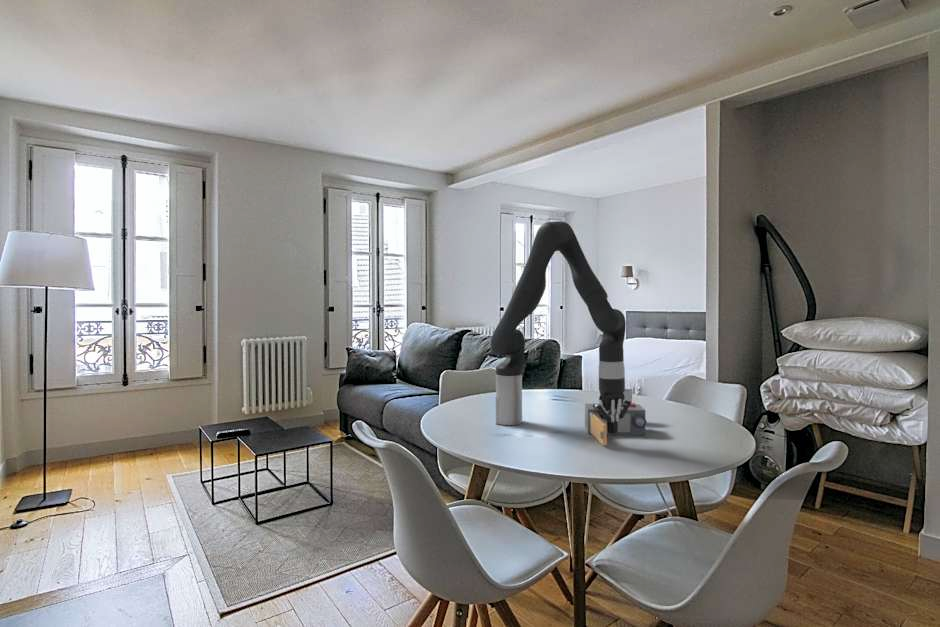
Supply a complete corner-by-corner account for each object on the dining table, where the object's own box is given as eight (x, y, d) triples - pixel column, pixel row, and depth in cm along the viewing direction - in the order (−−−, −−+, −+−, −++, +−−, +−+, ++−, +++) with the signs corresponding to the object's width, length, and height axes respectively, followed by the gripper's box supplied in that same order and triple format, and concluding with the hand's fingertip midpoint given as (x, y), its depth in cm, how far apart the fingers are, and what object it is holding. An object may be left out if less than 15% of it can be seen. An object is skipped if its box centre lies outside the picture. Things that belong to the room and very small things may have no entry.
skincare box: (616, 423, 180) (616, 388, 179) (610, 420, 184) (611, 386, 184) (632, 422, 180) (632, 388, 180) (627, 419, 185) (627, 386, 184)
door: (587, 433, 165) (587, 412, 165) (593, 432, 165) (593, 412, 165) (601, 446, 150) (601, 423, 150) (607, 446, 150) (607, 423, 150)
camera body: (588, 435, 164) (589, 408, 164) (584, 426, 175) (584, 401, 174) (646, 436, 162) (646, 409, 162) (638, 427, 173) (639, 402, 173)
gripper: (601, 379, 146) (602, 439, 147) (637, 375, 152) (638, 433, 152) (585, 376, 153) (586, 433, 153) (620, 372, 158) (621, 427, 159)
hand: (612, 433), depth 153 cm, fingers closed
